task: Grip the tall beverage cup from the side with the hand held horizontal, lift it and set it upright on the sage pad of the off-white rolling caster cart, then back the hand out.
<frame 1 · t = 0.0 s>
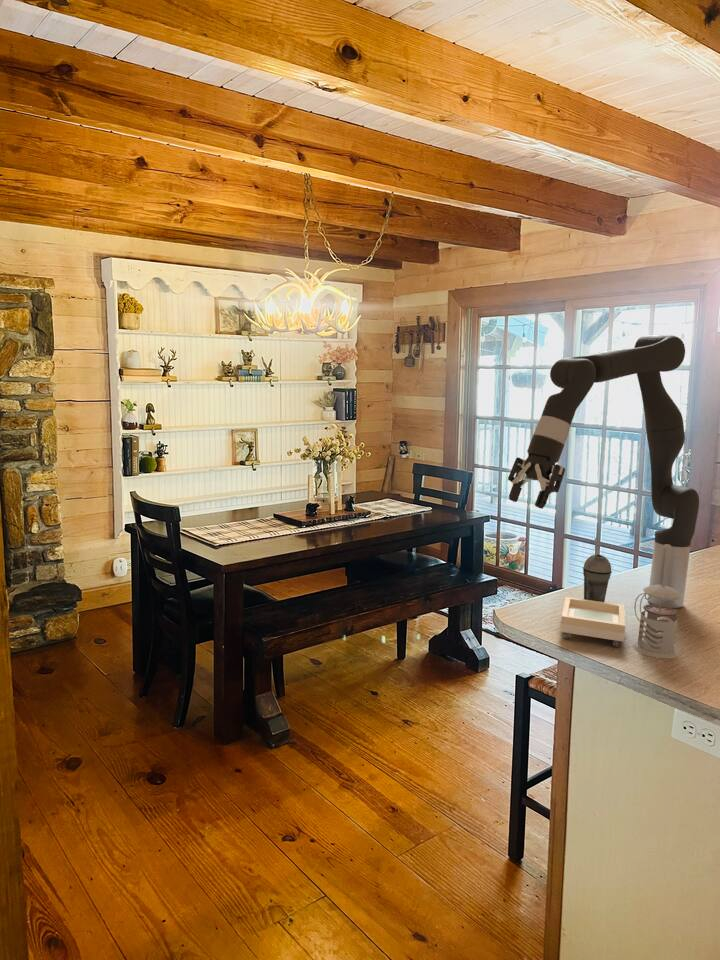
hand: (525, 504, 164), 31 cm above the table, tool tilted 20°, fingers open, 8 cm apart
beverage cup: (592, 612, 188), on the table
french press: (652, 649, 164), on the table
caster cart: (591, 633, 172), on the table
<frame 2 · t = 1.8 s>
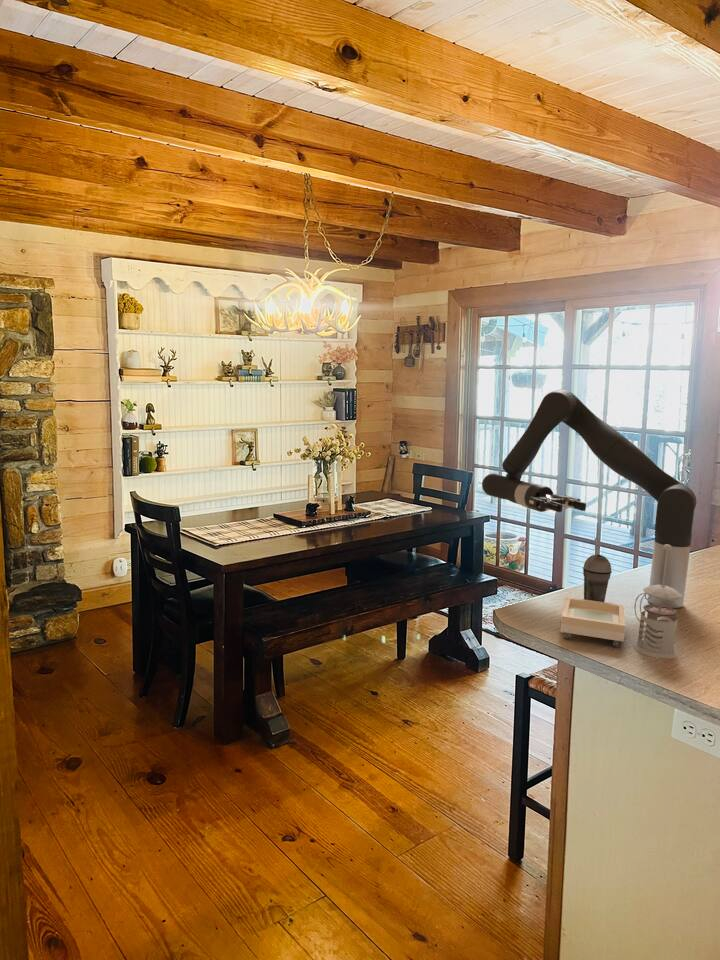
hand: (573, 507, 193), 26 cm above the table, tool horizontal, fingers open, 8 cm apart
nothing on the table moved.
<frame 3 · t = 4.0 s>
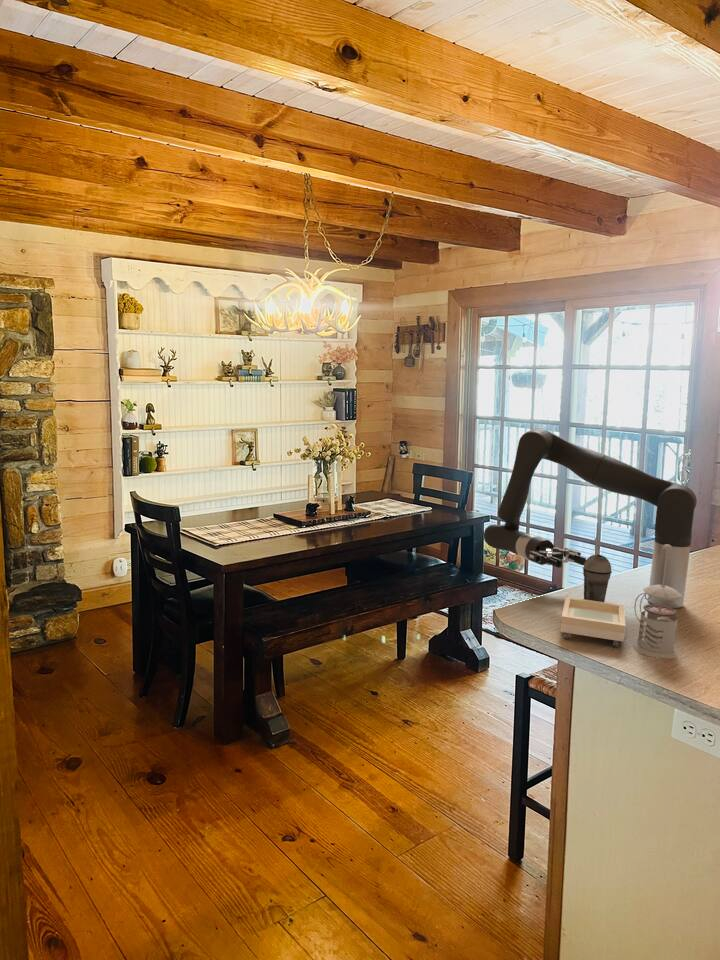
hand: (573, 563, 194), 11 cm above the table, tool horizontal, fingers open, 8 cm apart
nothing on the table moved.
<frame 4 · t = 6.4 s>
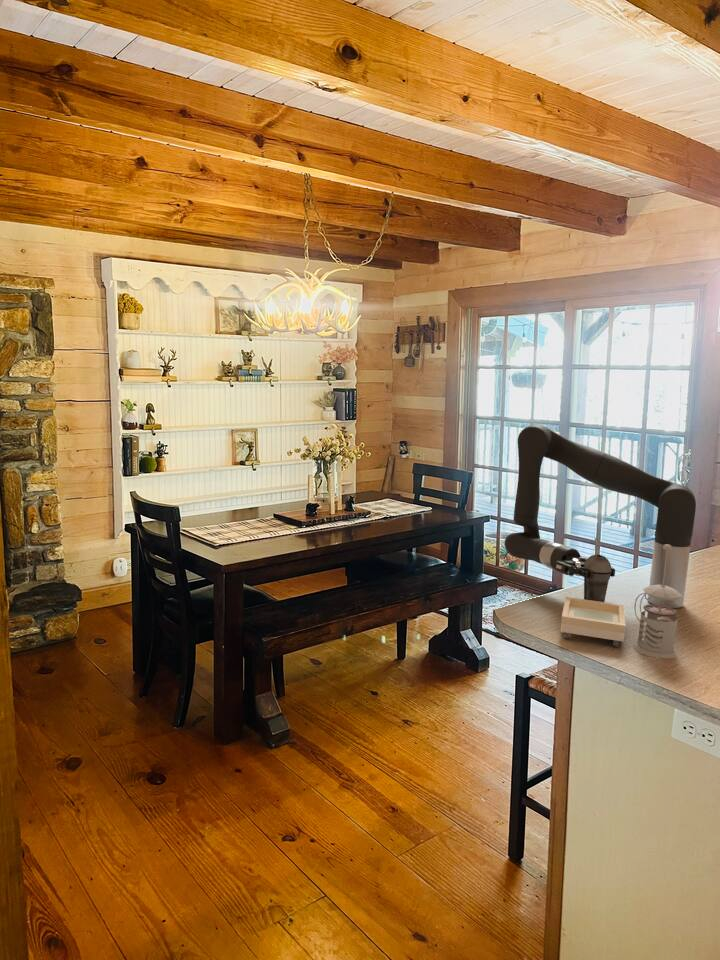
hand: (603, 574, 184), 11 cm above the table, tool horizontal, fingers closed on beverage cup, 7 cm apart
beverage cup: (592, 612, 188), on the table, touching gripper
everything else where it was.
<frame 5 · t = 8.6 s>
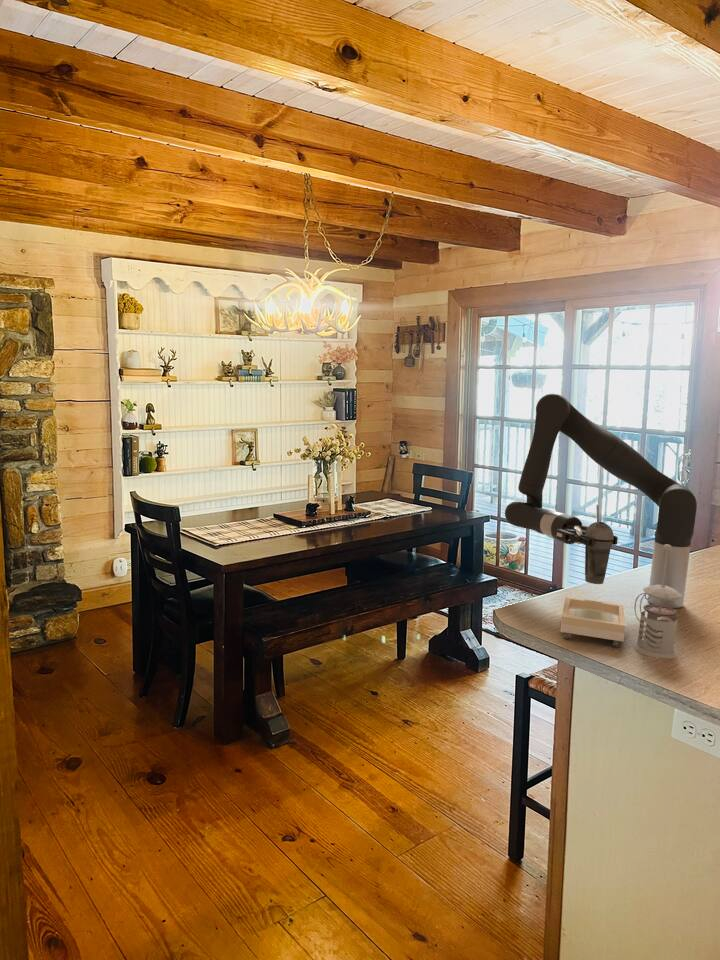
hand: (604, 541, 178), 21 cm above the table, tool horizontal, fingers closed on beverage cup, 7 cm apart
beverage cup: (594, 582, 182), point 9 cm above the table, touching gripper
everything else where it was.
when the fingers open (16 cm above the table, at t = 10.9 s): beverage cup drops 1 cm, resting on caster cart.
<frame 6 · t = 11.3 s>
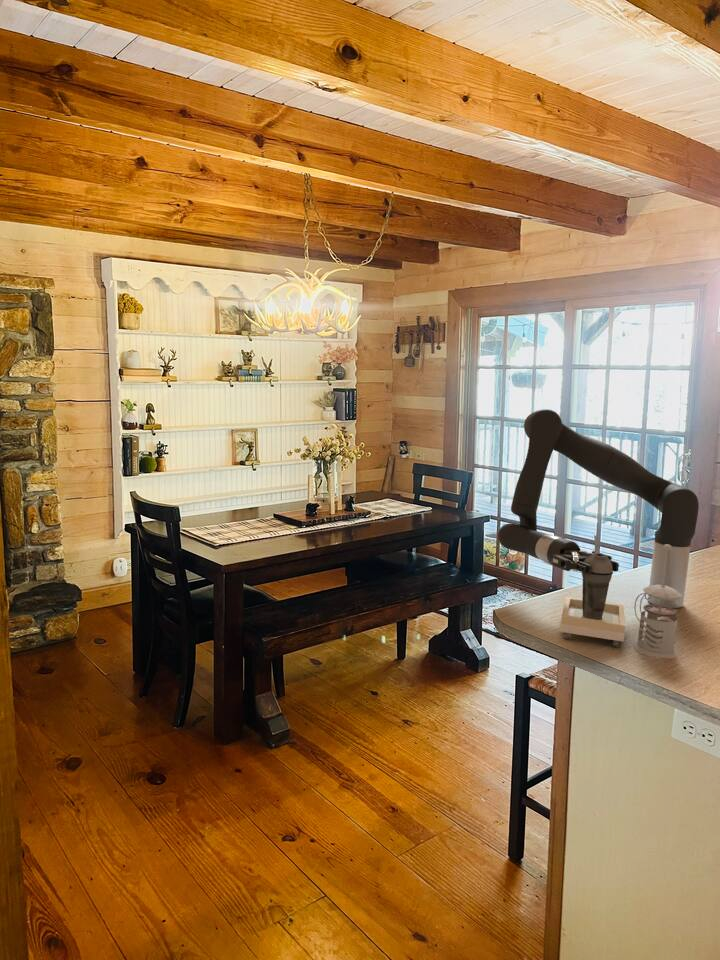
hand: (604, 568, 167), 17 cm above the table, tool horizontal, fingers open, 8 cm apart
beverage cup: (592, 617, 171), point 4 cm above the table, touching caster cart
everything else where it was.
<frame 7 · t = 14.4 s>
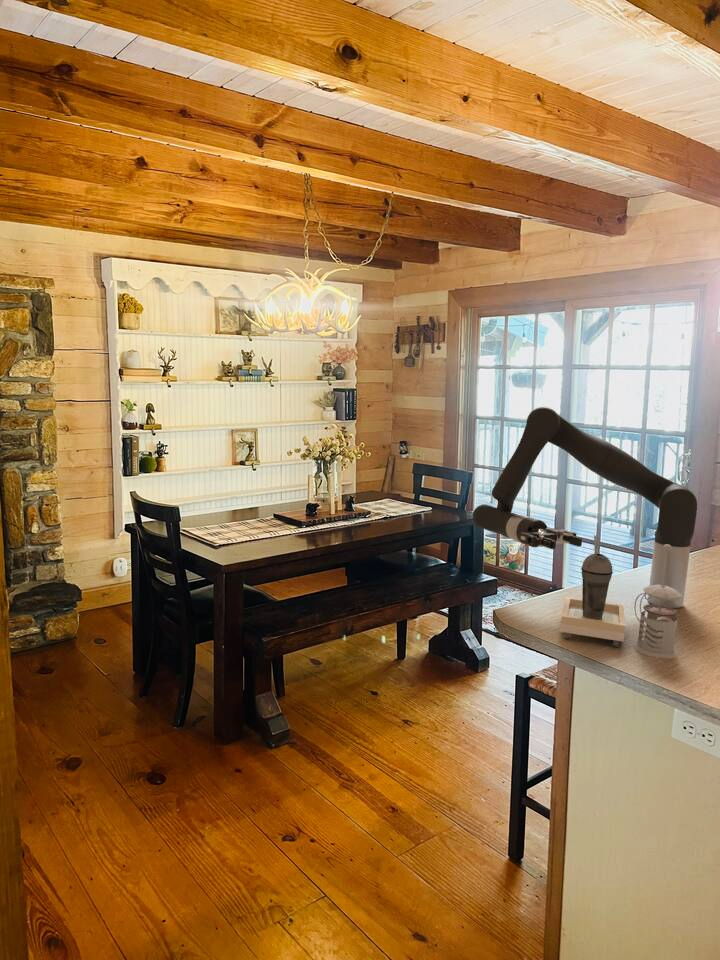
hand: (567, 543, 178), 20 cm above the table, tool horizontal, fingers open, 8 cm apart
nothing on the table moved.
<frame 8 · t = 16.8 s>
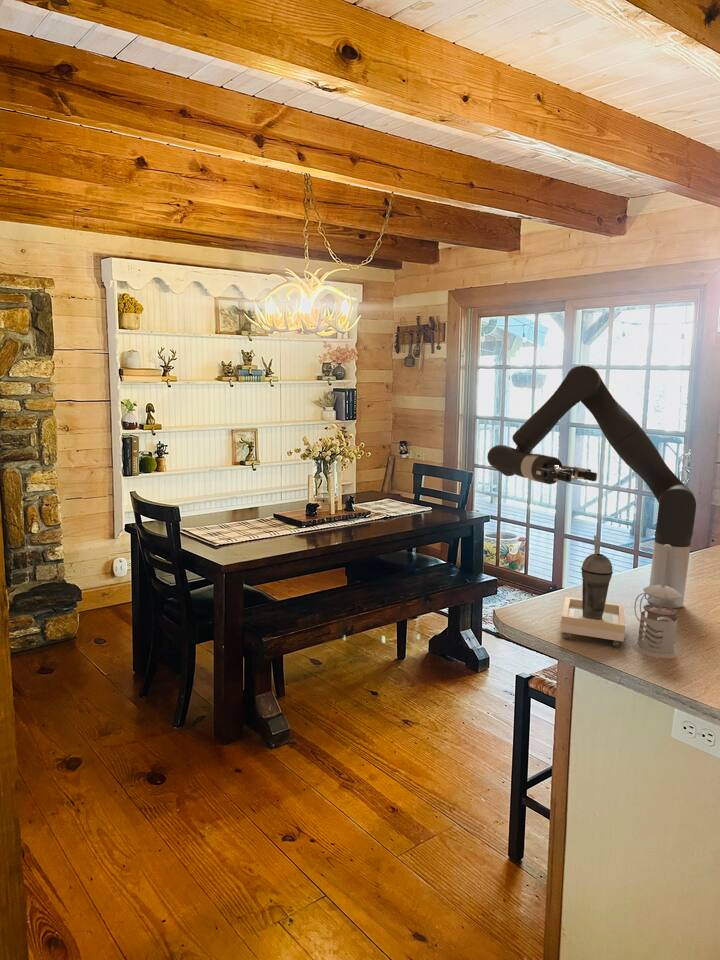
hand: (583, 477, 181), 36 cm above the table, tool horizontal, fingers open, 8 cm apart
nothing on the table moved.
at the end: beverage cup inside the target area on the caster cart (0.2 cm from its centre), point 4.0 cm above the caster cart's base; beverage cup tilted 0°; the gripper is holding nothing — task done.
